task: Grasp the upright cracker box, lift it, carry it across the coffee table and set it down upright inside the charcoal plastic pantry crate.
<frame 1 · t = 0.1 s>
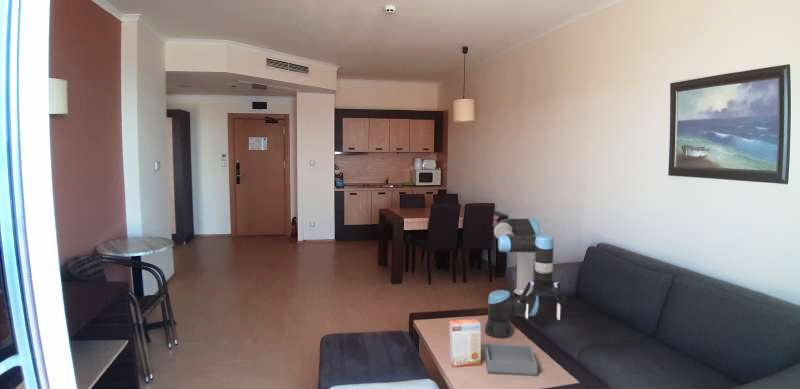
hand: (542, 318, 195), 28 cm above the table, fingers open, 13 cm apart
cracker box: (464, 363, 212), on the table
pantry crate: (509, 365, 210), on the table
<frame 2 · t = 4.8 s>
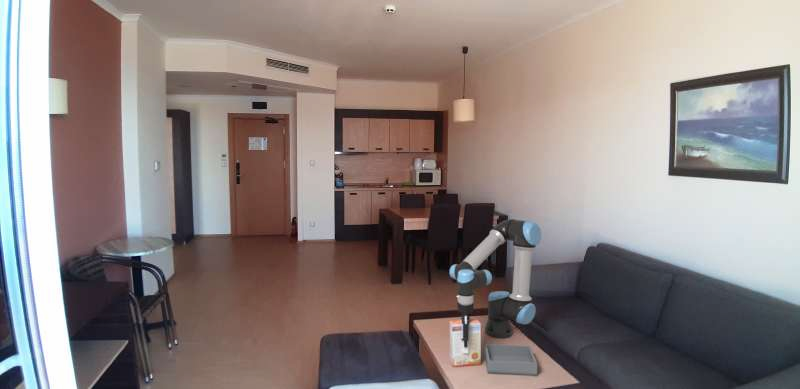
hand: (465, 349, 212), 7 cm above the table, fingers closed on cracker box, 7 cm apart
cracker box: (464, 363, 212), on the table, touching gripper
when the fingers open (9 cm above the table, at t = 12.1 s): cracker box drops 1 cm, resting on pantry crate.
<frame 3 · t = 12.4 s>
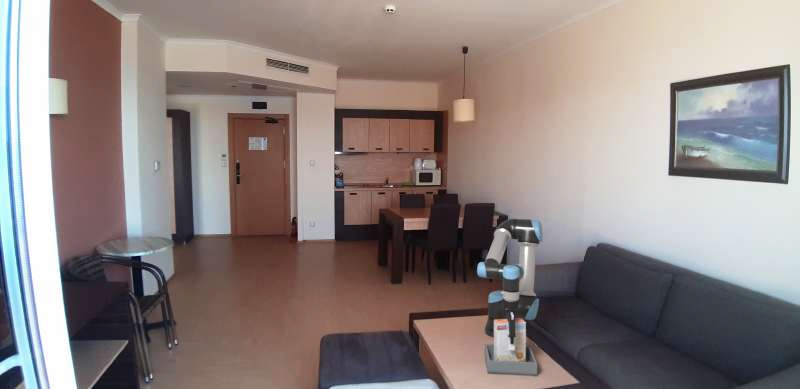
hand: (509, 344, 209), 10 cm above the table, fingers open, 10 cm apart
cracker box: (509, 363, 210), point 1 cm above the table, touching pantry crate
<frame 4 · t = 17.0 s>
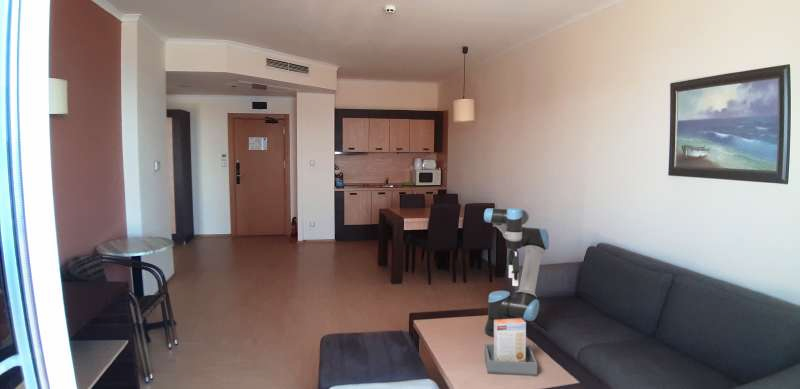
hand: (513, 281, 220), 37 cm above the table, fingers open, 13 cm apart
nothing on the table moved.
at the end: cracker box inside the target area on the pantry crate (0.4 cm from its centre), point 0.8 cm above the pantry crate's base; cracker box tilted 0°; the gripper is holding nothing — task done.
